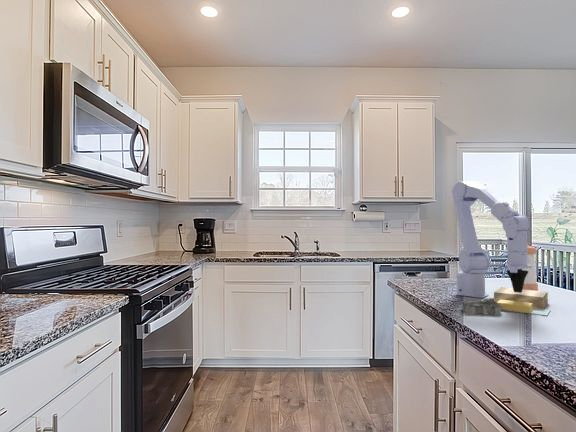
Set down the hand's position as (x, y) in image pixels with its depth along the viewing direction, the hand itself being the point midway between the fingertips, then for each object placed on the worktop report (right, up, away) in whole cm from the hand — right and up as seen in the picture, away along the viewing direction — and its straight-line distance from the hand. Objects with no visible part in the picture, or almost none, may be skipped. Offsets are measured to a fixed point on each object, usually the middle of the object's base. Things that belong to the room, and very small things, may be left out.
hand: (517, 292), depth 124 cm
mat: (-3, -5, -4) cm, 7 cm away
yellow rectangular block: (-4, -2, -5) cm, 7 cm away
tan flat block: (+3, -5, +4) cm, 7 cm away
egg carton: (-16, -5, -7) cm, 18 cm away
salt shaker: (+19, -5, +25) cm, 32 cm away
